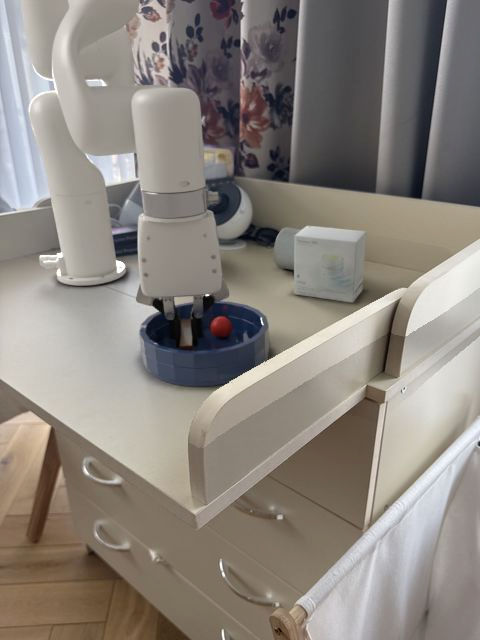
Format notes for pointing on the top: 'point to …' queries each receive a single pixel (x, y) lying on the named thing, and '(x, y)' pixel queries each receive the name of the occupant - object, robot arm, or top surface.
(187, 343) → the grey and brown bar
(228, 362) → the bowl
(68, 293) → the top surface
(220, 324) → the red bead
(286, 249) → the ceramic mug
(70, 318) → the top surface
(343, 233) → the cosmetics box
